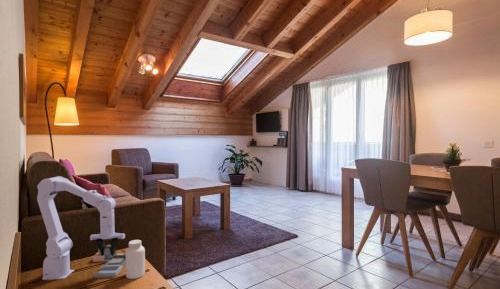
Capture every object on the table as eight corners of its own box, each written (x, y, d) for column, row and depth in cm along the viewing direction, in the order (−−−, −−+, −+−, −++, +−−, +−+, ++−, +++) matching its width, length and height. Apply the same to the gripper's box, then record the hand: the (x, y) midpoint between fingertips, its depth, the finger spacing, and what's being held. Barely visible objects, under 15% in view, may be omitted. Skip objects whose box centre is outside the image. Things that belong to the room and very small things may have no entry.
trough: (93, 277, 124) (93, 273, 124) (101, 269, 131) (101, 265, 131) (116, 276, 124) (115, 272, 124) (122, 268, 132) (122, 264, 132)
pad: (120, 264, 134) (119, 262, 134) (108, 264, 134) (108, 262, 134) (124, 259, 140) (124, 257, 140) (113, 260, 139) (113, 258, 139)
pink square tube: (92, 262, 140) (92, 256, 140) (99, 256, 147) (99, 250, 147) (107, 261, 140) (107, 255, 140) (113, 256, 147) (113, 250, 147)
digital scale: (122, 268, 133) (121, 261, 133) (103, 269, 132) (103, 262, 132) (129, 259, 143) (129, 253, 143) (112, 260, 142) (112, 253, 142)
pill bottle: (138, 280, 121) (137, 245, 121) (121, 278, 123) (121, 244, 122) (148, 271, 129) (148, 239, 129) (133, 270, 130) (132, 238, 130)
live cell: (101, 260, 126) (101, 247, 126) (105, 257, 130) (105, 243, 130) (110, 260, 126) (110, 246, 126) (114, 256, 130) (114, 243, 130)
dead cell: (97, 260, 141) (96, 248, 141) (101, 256, 145) (100, 245, 145) (105, 260, 141) (104, 248, 141) (109, 256, 145) (108, 245, 145)
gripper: (86, 228, 123) (87, 259, 123) (120, 227, 124) (121, 257, 124) (94, 223, 130) (94, 252, 130) (126, 222, 131) (127, 251, 131)
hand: (108, 254), depth 128 cm, fingers closed on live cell, 4 cm apart
